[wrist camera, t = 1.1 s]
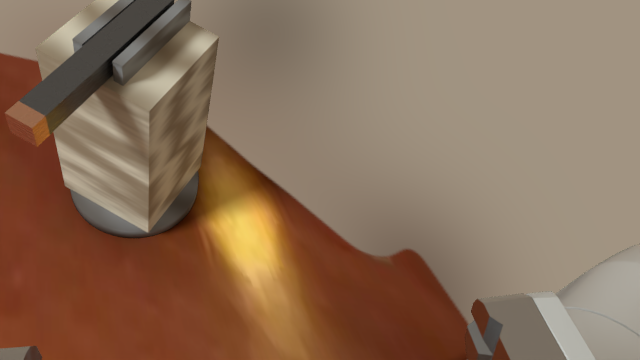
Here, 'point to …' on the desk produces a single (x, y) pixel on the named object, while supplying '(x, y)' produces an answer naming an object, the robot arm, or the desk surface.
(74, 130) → the level stand
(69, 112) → the bar
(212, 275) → the desk surface
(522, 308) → the robot arm
